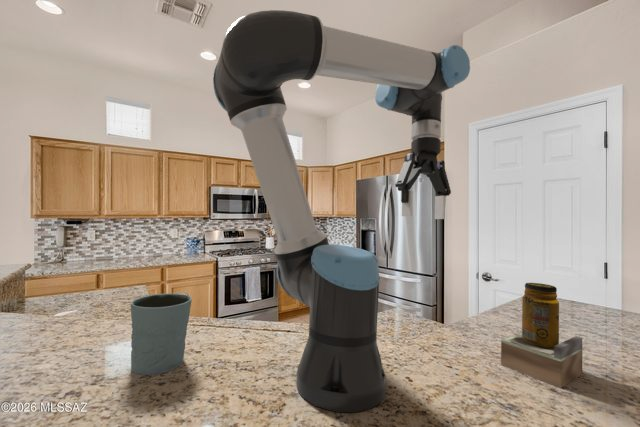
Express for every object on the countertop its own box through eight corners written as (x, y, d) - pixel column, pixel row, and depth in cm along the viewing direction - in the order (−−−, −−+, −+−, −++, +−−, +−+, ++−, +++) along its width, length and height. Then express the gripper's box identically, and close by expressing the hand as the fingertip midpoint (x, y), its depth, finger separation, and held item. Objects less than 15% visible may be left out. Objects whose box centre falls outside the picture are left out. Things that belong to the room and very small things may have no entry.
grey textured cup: (177, 348, 61) (181, 291, 62) (196, 366, 54) (200, 301, 54) (120, 362, 54) (125, 297, 55) (133, 385, 47) (138, 310, 47)
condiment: (567, 347, 58) (567, 286, 58) (550, 355, 53) (550, 290, 54) (526, 335, 64) (526, 280, 65) (507, 341, 59) (508, 282, 60)
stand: (560, 388, 51) (560, 348, 52) (501, 364, 60) (501, 330, 60) (582, 373, 57) (582, 337, 58) (525, 354, 66) (525, 322, 66)
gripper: (405, 125, 69) (403, 214, 68) (465, 145, 82) (463, 219, 81) (382, 133, 75) (380, 215, 74) (441, 151, 89) (440, 220, 87)
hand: (423, 217), depth 78 cm, fingers open, 13 cm apart
